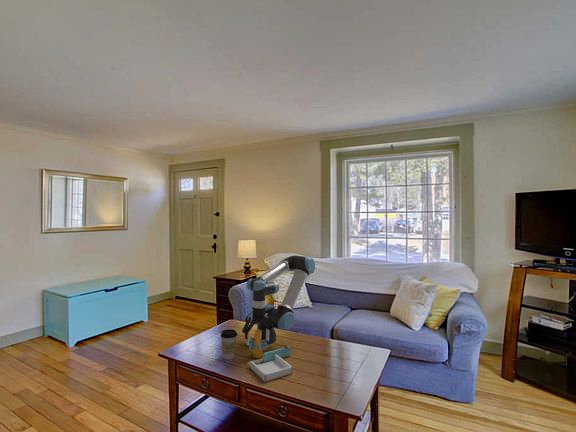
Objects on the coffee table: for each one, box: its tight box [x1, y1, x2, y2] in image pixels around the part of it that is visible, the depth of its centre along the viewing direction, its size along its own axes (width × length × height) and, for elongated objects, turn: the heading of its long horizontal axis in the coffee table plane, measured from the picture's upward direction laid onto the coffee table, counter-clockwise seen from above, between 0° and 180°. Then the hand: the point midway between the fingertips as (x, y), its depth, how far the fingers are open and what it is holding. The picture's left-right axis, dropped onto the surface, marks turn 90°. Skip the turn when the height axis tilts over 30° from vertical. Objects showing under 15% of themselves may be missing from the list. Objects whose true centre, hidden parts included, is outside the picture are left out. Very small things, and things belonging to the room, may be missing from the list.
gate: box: [262, 345, 292, 363], centre depth 181 cm, size 18×2×6 cm, turn 122°
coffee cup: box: [220, 328, 238, 360], centre depth 182 cm, size 10×10×15 cm
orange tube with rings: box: [248, 329, 268, 359], centre depth 185 cm, size 12×10×15 cm
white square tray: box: [246, 355, 294, 383], centre depth 169 cm, size 17×21×4 cm
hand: (257, 342), depth 185 cm, fingers open, 13 cm apart
